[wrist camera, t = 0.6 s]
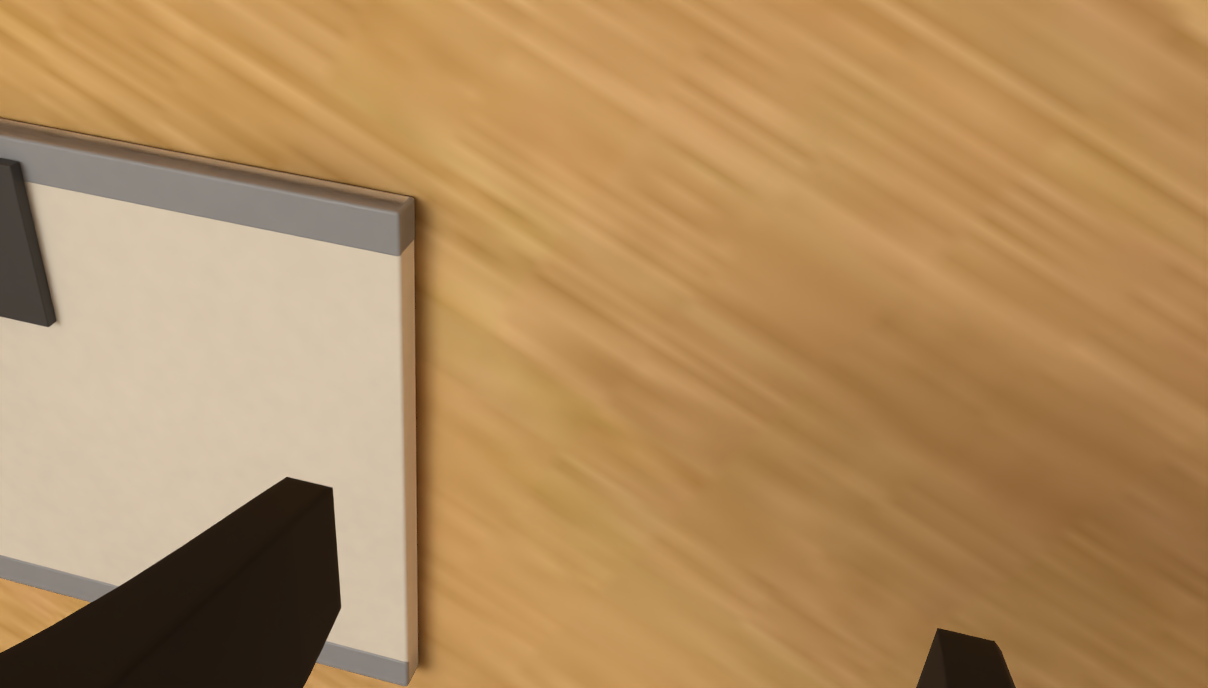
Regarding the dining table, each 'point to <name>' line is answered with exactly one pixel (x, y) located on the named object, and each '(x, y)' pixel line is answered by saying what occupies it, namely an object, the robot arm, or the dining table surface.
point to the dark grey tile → (20, 254)
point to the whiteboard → (210, 374)
